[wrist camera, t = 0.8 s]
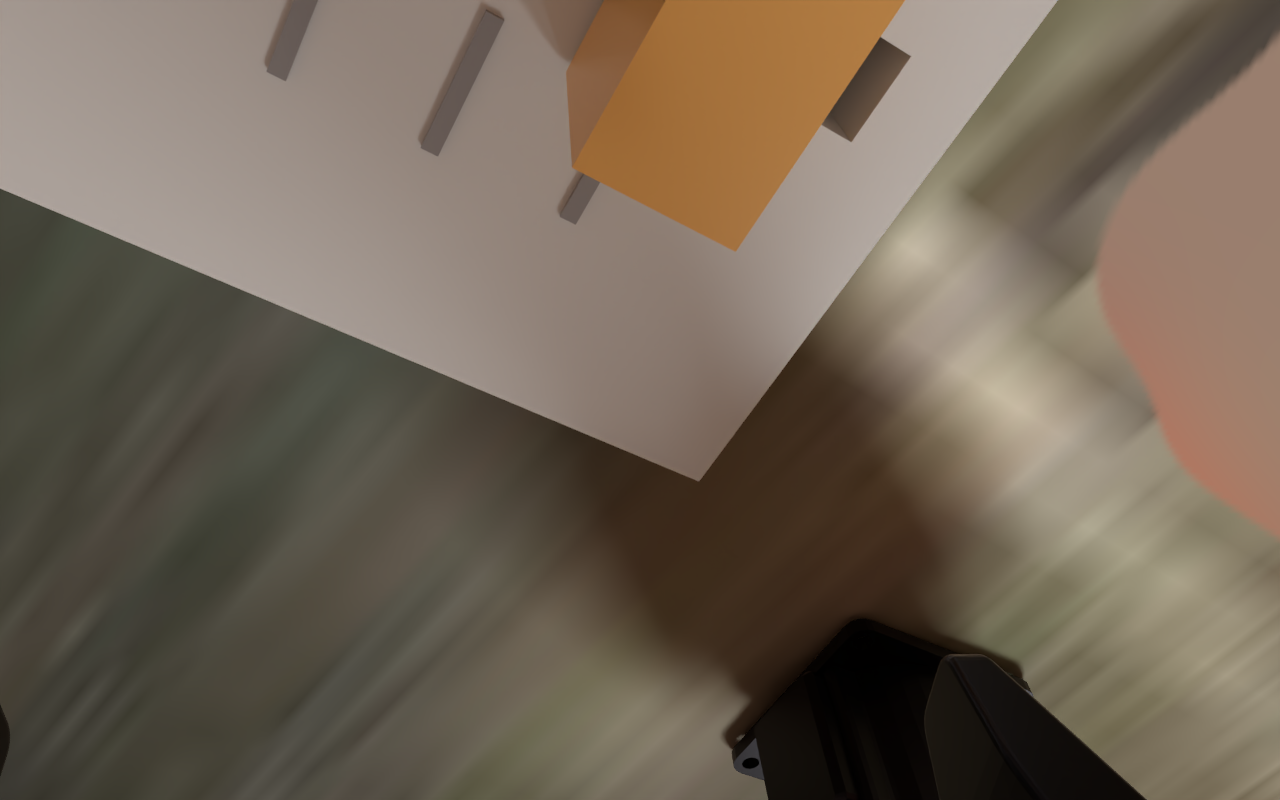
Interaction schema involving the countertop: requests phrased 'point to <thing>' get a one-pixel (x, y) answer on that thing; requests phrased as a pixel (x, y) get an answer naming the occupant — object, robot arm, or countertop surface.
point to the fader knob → (711, 99)
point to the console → (472, 188)
